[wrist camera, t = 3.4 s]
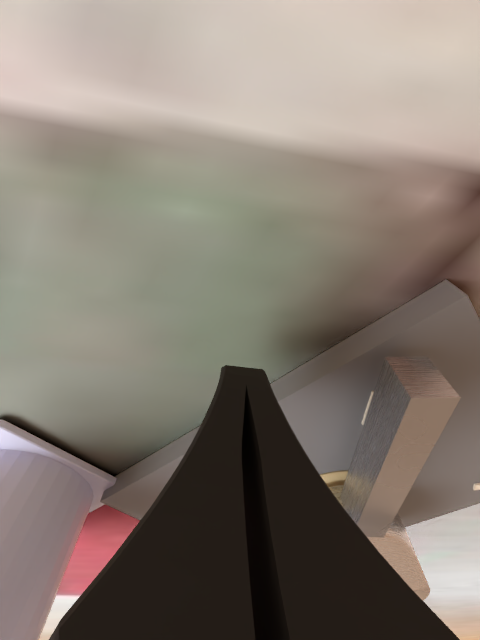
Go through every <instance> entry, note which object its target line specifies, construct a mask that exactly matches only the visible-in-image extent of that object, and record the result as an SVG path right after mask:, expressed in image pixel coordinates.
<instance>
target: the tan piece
mask: <svg viewBox="0 0 480 640" xmlns="http://www.w3.org/2000/svg"><path fill="white" fill-rule="evenodd" d="M460 398H461V397H460V396H459V395H458V394H457V393H456V391H455V390H454V389H453V388H452V386H451V385H450V384H449V383H448V381H447V380H446V379H445V378H444V376H443V375H442V374H441V373H440V372H439V370H438V369H437V368H436V367H435V365H434V364H433V363H432V362H431V360H430V359H429V358H428V357H385V360H384V363H383V366H382V369H381V372H380V375H379V378H378V381H377V384H376V387H375V390H374V393H373V397H372V400H371V403H370V406H369V409H368V412H367V415H366V418H365V421H364V424H363V427H362V430H361V433H360V437H359V440H358V443H357V446H356V449H355V452H354V455H353V458H352V461H351V464H350V467H349V470H348V473H347V477H346V480H345V483H344V485H338V486H332V487H329V489H330V490H331V491H332V493H333V494H334V496H335V497H336V498H337V500H338V501H339V502H340V504H341V505H342V506H343V508H344V509H345V510H346V512H347V513H348V514H349V516H350V517H351V518H352V519H353V520H354V522H355V523H356V524H357V525H358V527H359V528H360V529H361V530H362V532H363V533H364V534H365V535H366V536H367V538H368V539H369V540H370V541H371V543H372V544H373V545H374V546H375V548H376V549H377V550H378V551H379V552H380V554H381V555H382V556H383V557H384V558H385V559H386V561H387V562H388V563H389V564H390V565H391V566H392V567H393V568H394V570H395V571H396V572H397V573H398V574H399V575H400V576H401V578H402V579H403V580H404V581H405V582H406V583H407V584H408V585H409V587H410V588H411V589H412V590H413V591H414V592H415V593H416V594H417V595H418V596H419V597H420V598H421V600H422V601H423V600H424V599H425V598H426V597H427V596H428V595H429V593H430V588H429V586H428V583H427V581H426V578H425V576H424V573H423V571H422V569H421V566H420V564H419V561H418V559H417V556H416V554H415V551H414V549H413V547H412V544H411V542H410V539H409V537H408V534H407V532H406V530H405V527H404V525H403V522H402V520H401V517H400V515H399V512H398V511H399V509H400V507H401V505H402V503H403V502H404V500H405V498H406V496H407V494H408V493H409V491H410V489H411V487H412V485H413V483H414V482H415V480H416V478H417V476H418V474H419V473H420V471H421V469H422V467H423V465H424V464H425V462H426V460H427V458H428V456H429V454H430V453H431V451H432V449H433V447H434V445H435V444H436V442H437V440H438V438H439V436H440V435H441V433H442V431H443V429H444V427H445V426H446V424H447V422H448V420H449V418H450V416H451V415H452V413H453V411H454V409H455V407H456V406H457V404H458V402H459V400H460Z"/></svg>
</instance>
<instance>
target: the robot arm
mask: <svg viewBox="0 0 480 640" xmlns="http://www.w3.org/2000/svg"><path fill="white" fill-rule="evenodd" d="M116 479H117V478H116V477H114V476H112V475H110V474H108V473H106V472H104V471H102V470H100V469H98V468H96V467H94V466H92V465H90V464H88V463H86V462H85V461H83V460H81V459H79V458H77V457H75V456H73V455H71V454H69V453H67V452H65V451H63V450H61V449H59V448H57V447H55V446H53V445H52V444H50V443H48V442H46V441H44V440H42V439H40V438H38V437H36V436H34V435H32V434H30V433H28V432H26V431H24V430H22V429H20V428H19V427H17V426H15V425H13V424H11V423H9V422H7V421H4V420H0V640H39V638H40V635H41V633H42V630H43V627H44V625H45V622H46V620H47V617H48V615H49V612H50V609H51V607H52V604H53V602H54V599H55V597H56V594H57V591H58V589H59V586H60V584H61V581H62V579H63V576H64V574H65V571H66V568H67V566H68V563H69V561H70V558H71V556H72V553H73V550H74V548H75V545H76V543H77V540H78V538H79V535H80V532H81V530H82V527H83V525H84V522H85V520H86V517H87V515H88V513H90V512H92V511H94V510H96V509H97V508H99V507H101V506H103V505H105V504H104V503H101V502H100V500H101V497H102V495H103V492H104V491H105V490H106V489H108V488H110V487H111V486H113V485H114V484H115V482H116ZM49 640H460V639H459V638H458V637H457V636H456V635H455V634H454V633H453V632H452V631H451V630H450V629H449V628H448V627H447V626H446V625H445V624H444V623H443V622H442V621H441V620H440V619H439V617H438V616H437V615H436V614H435V613H434V612H433V611H432V610H431V609H430V608H429V607H428V606H427V605H426V604H425V603H424V602H423V601H422V600H421V598H420V597H419V596H418V595H417V594H416V593H415V592H414V591H413V590H412V589H411V588H410V587H409V585H408V584H407V583H406V582H405V581H404V580H403V579H402V578H401V576H400V575H399V574H398V573H397V572H396V571H395V570H394V568H393V567H392V566H391V565H390V564H389V563H388V562H387V561H386V559H385V558H384V557H383V556H382V555H381V554H380V552H379V551H378V550H377V549H376V548H375V546H374V545H373V544H372V543H371V541H370V540H369V539H368V538H367V536H366V535H365V534H364V533H363V532H362V530H361V529H360V528H359V527H358V525H357V524H356V523H355V522H354V520H353V519H352V518H351V517H350V516H349V514H348V513H347V512H346V510H345V509H344V508H343V506H342V505H341V504H340V502H339V501H338V500H337V498H336V497H335V496H334V494H333V493H332V491H331V490H330V489H329V487H328V486H327V484H326V483H325V481H324V480H323V479H322V477H321V476H320V474H319V473H318V471H317V470H316V468H315V467H314V465H313V464H312V462H311V460H310V459H309V457H308V456H307V454H306V452H305V451H304V449H303V447H302V446H301V444H300V442H299V441H298V439H297V437H296V435H295V434H294V432H293V430H292V428H291V426H290V425H289V423H288V421H287V419H286V417H285V415H284V413H283V411H282V409H281V407H280V405H279V403H278V401H277V399H276V397H275V395H274V392H273V390H272V388H271V385H270V383H269V381H268V378H267V375H266V373H265V371H264V370H263V369H254V368H245V367H236V366H227V365H225V366H224V367H222V368H221V375H220V380H219V383H218V387H217V389H216V392H215V395H214V398H213V400H212V402H211V404H210V407H209V409H208V411H207V414H206V416H205V418H204V420H203V422H202V424H201V426H200V428H199V430H198V431H197V433H196V435H195V437H194V439H193V441H192V443H191V445H190V446H189V448H188V450H187V452H186V453H185V455H184V457H183V458H182V460H181V462H180V463H179V465H178V466H177V468H176V470H175V471H174V473H173V474H172V476H171V477H170V479H169V480H168V482H167V483H166V485H165V486H164V488H163V489H162V491H161V492H160V494H159V495H158V497H157V498H156V500H155V501H154V503H153V504H152V505H151V507H150V508H149V510H148V511H147V512H146V514H145V515H144V517H143V518H142V519H141V521H140V522H139V523H138V524H137V526H136V527H135V528H134V530H133V531H132V532H131V534H130V535H129V536H128V538H127V539H126V540H125V542H124V543H123V544H122V546H121V547H120V548H119V549H118V551H117V552H116V553H115V555H114V556H113V557H112V558H111V560H110V561H109V562H108V563H107V565H106V566H105V567H104V568H103V570H102V571H101V572H100V573H99V574H98V576H97V577H96V578H95V579H94V580H93V582H92V583H91V584H90V585H89V586H88V588H87V589H86V590H85V591H84V592H83V594H82V595H81V596H80V597H79V598H78V600H77V601H76V602H75V603H74V604H73V606H72V607H71V608H70V609H69V610H68V612H67V613H66V614H65V615H64V616H63V618H62V619H61V621H60V622H59V624H58V626H57V627H56V629H55V631H54V632H53V634H52V635H51V637H50V639H49Z"/></svg>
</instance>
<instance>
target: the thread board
mask: <svg viewBox="0 0 480 640" xmlns="http://www.w3.org/2000/svg"><path fill="white" fill-rule="evenodd" d="M385 357H428V358H429V359H430V360H431V362H432V363H433V364H434V365H435V367H436V368H437V369H438V370H439V372H440V373H441V374H442V375H443V376H444V378H445V379H446V380H447V381H448V383H449V384H450V385H451V386H452V388H453V389H454V390H455V391H456V393H457V394H458V395H459V396H460V397H461V398H460V400H459V402H458V404H457V406H456V407H455V409H454V411H453V413H452V415H451V416H450V418H449V420H448V422H447V424H446V426H445V427H444V429H443V431H442V433H441V435H440V436H439V438H438V440H437V442H436V444H435V445H434V447H433V449H432V451H431V453H430V454H429V456H428V458H427V460H426V462H425V464H424V465H423V467H422V469H421V471H420V473H419V474H418V476H417V478H416V480H415V482H414V483H413V485H412V487H411V489H410V491H409V493H408V494H407V496H406V498H405V500H404V502H403V503H402V505H401V507H400V509H399V511H398V512H399V515H400V517H401V520H402V522H403V525H404V527H407V526H410V525H413V524H416V523H419V522H422V521H425V520H429V519H432V518H435V517H438V516H441V515H444V514H447V513H450V512H453V511H457V510H460V509H463V508H466V507H469V506H472V505H475V504H478V503H480V319H479V317H478V315H477V313H476V311H475V309H474V307H473V305H472V303H471V301H470V299H469V297H468V295H467V294H465V293H464V292H463V291H461V290H460V289H459V288H457V287H456V286H455V285H453V284H452V283H451V282H449V281H448V280H447V279H446V280H444V281H443V282H441V283H439V284H438V285H436V286H434V287H433V288H431V289H429V290H427V291H426V292H424V293H422V294H421V295H419V296H417V297H416V298H414V299H412V300H411V301H409V302H407V303H406V304H404V305H402V306H401V307H399V308H397V309H395V310H394V311H392V312H390V313H389V314H387V315H385V316H384V317H382V318H380V319H379V320H377V321H375V322H374V323H372V324H370V325H369V326H367V327H365V328H364V329H362V330H360V331H358V332H357V333H355V334H353V335H352V336H350V337H348V338H347V339H345V340H343V341H342V342H340V343H338V344H337V345H335V346H333V347H332V348H330V349H328V350H326V351H325V352H323V353H321V354H320V355H318V356H316V357H315V358H313V359H311V360H310V361H308V362H306V363H305V364H303V365H301V366H300V367H298V368H296V369H295V370H293V371H291V372H289V373H288V374H286V375H284V376H283V377H281V378H279V379H278V380H276V381H274V382H273V383H271V384H270V385H271V388H272V390H273V392H274V395H275V397H276V399H277V401H278V403H279V405H280V407H281V409H282V411H283V413H284V415H285V417H286V419H287V421H288V423H289V425H290V426H291V428H292V430H293V432H294V434H295V435H296V437H297V439H298V441H299V442H300V444H301V446H302V447H303V449H304V451H305V452H306V454H307V456H308V457H309V459H310V460H311V462H312V464H313V465H314V467H315V468H316V470H317V471H318V473H319V474H320V476H321V477H322V479H323V480H324V481H325V483H326V484H327V486H328V487H332V486H338V485H344V483H345V480H346V477H347V473H348V470H349V467H350V464H351V461H352V458H353V455H354V452H355V449H356V446H357V443H358V440H359V437H360V433H361V430H362V427H363V424H364V421H365V418H366V415H367V412H368V409H369V406H370V403H371V400H372V397H373V393H374V390H375V387H376V384H377V381H378V378H379V375H380V372H381V369H382V366H383V363H384V360H385ZM200 426H201V425H200ZM200 426H199V427H197V428H195V429H194V430H192V431H190V432H189V433H187V434H185V435H183V436H182V437H180V438H178V439H177V440H175V441H173V442H172V443H170V444H168V445H167V446H165V447H163V448H162V449H160V450H158V451H157V452H155V453H153V454H152V455H150V456H148V457H146V458H145V459H143V460H141V461H140V462H138V463H136V464H135V465H133V466H131V467H130V468H128V469H126V470H125V471H123V472H121V473H120V474H118V475H116V476H114V477H116V478H117V479H116V482H115V484H114V485H113V486H111V487H110V488H108V489H106V490H105V491H104V492H103V495H102V497H101V500H100V502H101V503H104V504H106V505H108V506H110V507H112V508H114V509H117V510H119V511H121V512H123V513H125V514H127V515H130V516H132V517H134V518H136V519H138V520H140V521H141V519H142V518H143V517H144V515H145V514H146V512H147V511H148V510H149V508H150V507H151V505H152V504H153V503H154V501H155V500H156V498H157V497H158V495H159V494H160V492H161V491H162V489H163V488H164V486H165V485H166V483H167V482H168V480H169V479H170V477H171V476H172V474H173V473H174V471H175V470H176V468H177V466H178V465H179V463H180V462H181V460H182V458H183V457H184V455H185V453H186V452H187V450H188V448H189V446H190V445H191V443H192V441H193V439H194V437H195V435H196V433H197V431H198V430H199V428H200Z"/></svg>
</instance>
